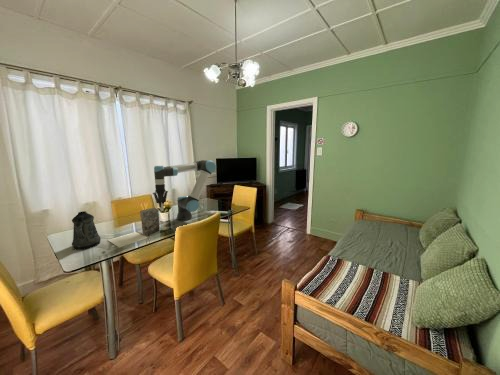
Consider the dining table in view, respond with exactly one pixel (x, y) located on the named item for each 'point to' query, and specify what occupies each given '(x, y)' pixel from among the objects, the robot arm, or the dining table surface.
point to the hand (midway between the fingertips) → (161, 210)
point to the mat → (128, 239)
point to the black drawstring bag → (84, 232)
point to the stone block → (150, 220)
